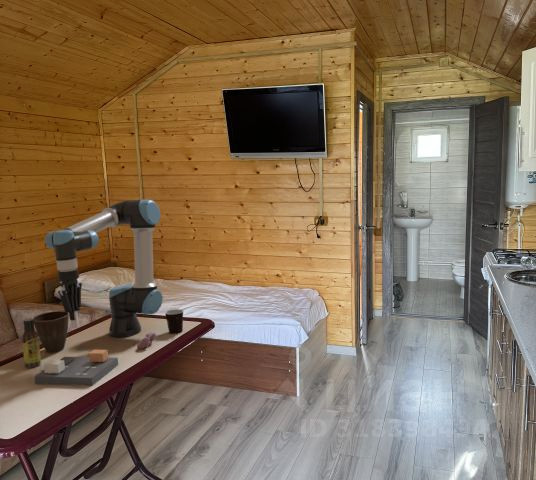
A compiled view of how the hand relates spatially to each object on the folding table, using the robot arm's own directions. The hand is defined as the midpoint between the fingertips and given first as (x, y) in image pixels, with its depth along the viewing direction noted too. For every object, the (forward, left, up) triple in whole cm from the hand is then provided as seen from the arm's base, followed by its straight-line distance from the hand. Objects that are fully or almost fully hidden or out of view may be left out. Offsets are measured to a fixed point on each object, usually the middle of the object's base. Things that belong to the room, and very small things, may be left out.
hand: (75, 327), depth 203 cm
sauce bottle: (-2, -23, -18) cm, 29 cm away
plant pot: (-20, -25, -18) cm, 37 cm away
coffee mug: (-45, +23, -18) cm, 54 cm away
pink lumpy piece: (-27, +17, -18) cm, 37 cm away
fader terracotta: (-1, +8, -14) cm, 16 cm away
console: (+5, +2, -18) cm, 18 cm away
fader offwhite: (+10, -4, -14) cm, 18 cm away
